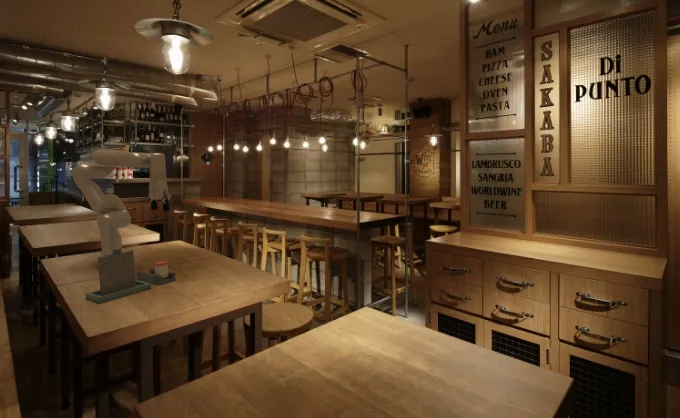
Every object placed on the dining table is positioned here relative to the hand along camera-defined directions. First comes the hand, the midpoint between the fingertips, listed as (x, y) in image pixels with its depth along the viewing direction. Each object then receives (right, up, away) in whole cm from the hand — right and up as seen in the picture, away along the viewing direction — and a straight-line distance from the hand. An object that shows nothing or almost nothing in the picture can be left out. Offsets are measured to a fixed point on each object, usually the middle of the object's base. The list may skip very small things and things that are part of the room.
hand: (160, 210), depth 208 cm
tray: (-5, -37, -29) cm, 47 cm away
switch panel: (+2, -35, -9) cm, 36 cm away
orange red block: (+6, -33, -12) cm, 35 cm away
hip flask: (-5, -36, -29) cm, 47 cm away
